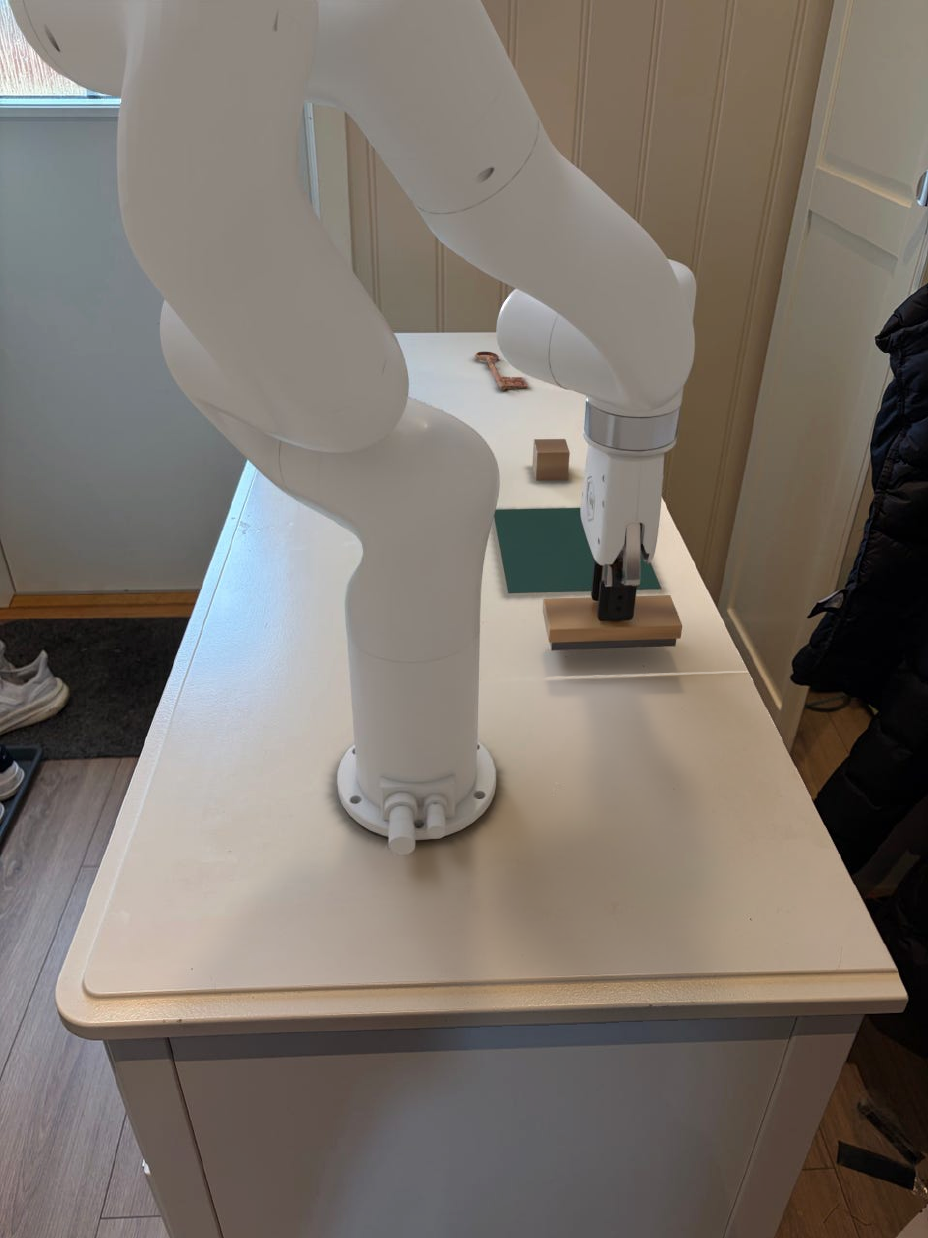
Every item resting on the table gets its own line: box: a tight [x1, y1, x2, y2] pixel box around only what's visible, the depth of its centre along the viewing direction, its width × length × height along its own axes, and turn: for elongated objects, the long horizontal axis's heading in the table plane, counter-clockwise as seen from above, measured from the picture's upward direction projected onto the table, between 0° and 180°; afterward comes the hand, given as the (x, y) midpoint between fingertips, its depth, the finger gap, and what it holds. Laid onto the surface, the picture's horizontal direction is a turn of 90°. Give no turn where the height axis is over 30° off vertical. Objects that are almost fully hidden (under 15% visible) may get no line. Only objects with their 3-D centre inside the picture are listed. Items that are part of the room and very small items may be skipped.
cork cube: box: [531, 438, 571, 481], centre depth 123 cm, size 4×4×4 cm
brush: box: [542, 563, 683, 651], centre depth 89 cm, size 5×12×8 cm, turn 93°
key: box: [474, 351, 528, 391], centre depth 153 cm, size 6×1×15 cm
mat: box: [493, 507, 662, 594], centre depth 109 cm, size 18×16×1 cm
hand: (611, 607), depth 90 cm, fingers closed on brush, 2 cm apart
